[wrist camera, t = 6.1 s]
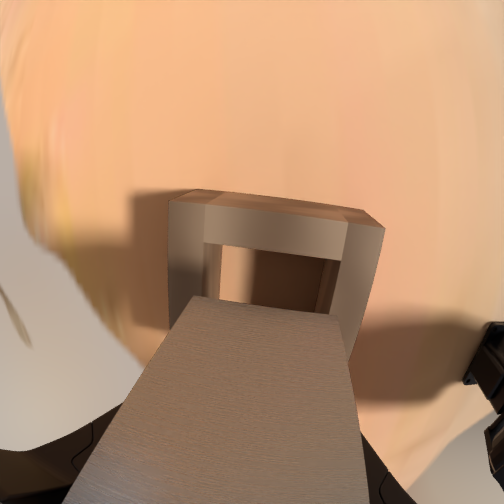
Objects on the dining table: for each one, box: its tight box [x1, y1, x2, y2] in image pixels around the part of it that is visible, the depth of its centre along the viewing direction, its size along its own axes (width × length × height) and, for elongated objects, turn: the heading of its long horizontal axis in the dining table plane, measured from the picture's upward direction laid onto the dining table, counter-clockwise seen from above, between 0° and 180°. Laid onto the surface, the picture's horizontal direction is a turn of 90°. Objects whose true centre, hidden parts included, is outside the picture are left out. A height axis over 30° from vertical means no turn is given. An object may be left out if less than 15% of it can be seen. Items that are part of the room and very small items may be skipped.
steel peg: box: [62, 295, 370, 504], centre depth 7 cm, size 5×5×9 cm
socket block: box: [168, 189, 385, 362], centre depth 17 cm, size 10×10×4 cm
